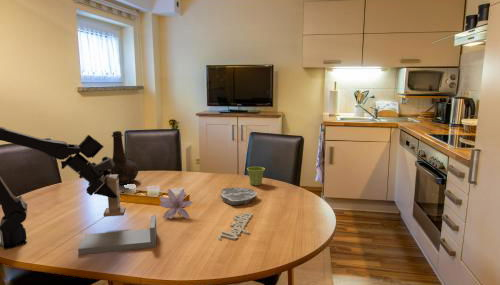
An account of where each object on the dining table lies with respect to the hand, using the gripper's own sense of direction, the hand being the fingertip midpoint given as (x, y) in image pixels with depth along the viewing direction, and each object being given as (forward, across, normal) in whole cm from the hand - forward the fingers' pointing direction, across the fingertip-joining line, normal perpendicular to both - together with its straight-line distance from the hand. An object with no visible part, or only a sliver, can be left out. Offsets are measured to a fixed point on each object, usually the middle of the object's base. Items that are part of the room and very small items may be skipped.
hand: (117, 194), depth 132 cm
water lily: (+24, +7, -5) cm, 26 cm away
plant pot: (+54, +43, -36) cm, 78 cm away
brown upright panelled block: (+4, 0, +6) cm, 7 cm away
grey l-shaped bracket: (+10, -14, +8) cm, 19 cm away
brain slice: (+45, +22, -26) cm, 57 cm away
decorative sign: (+41, -9, -22) cm, 48 cm away
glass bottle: (+4, +62, +14) cm, 64 cm away
